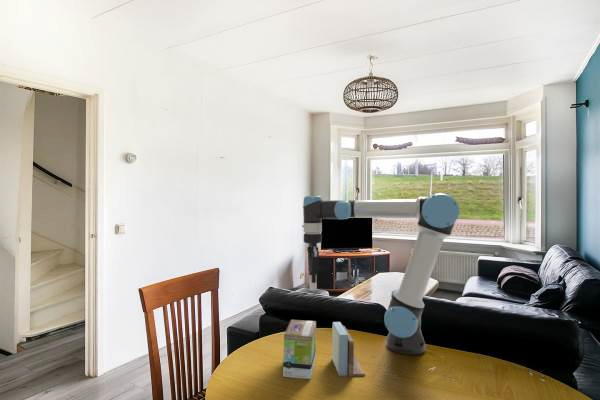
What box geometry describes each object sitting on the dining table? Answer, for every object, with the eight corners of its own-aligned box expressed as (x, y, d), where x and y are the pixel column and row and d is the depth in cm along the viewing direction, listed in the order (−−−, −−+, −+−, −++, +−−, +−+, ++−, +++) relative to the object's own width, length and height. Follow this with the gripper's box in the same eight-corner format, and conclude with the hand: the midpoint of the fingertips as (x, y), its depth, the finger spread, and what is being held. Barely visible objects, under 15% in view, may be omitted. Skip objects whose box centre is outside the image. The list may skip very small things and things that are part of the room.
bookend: (354, 356, 130) (354, 325, 130) (364, 375, 116) (365, 340, 116) (340, 357, 130) (340, 325, 130) (349, 376, 116) (349, 341, 116)
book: (339, 358, 129) (340, 321, 129) (347, 375, 117) (347, 334, 117) (331, 359, 129) (332, 322, 128) (338, 375, 117) (339, 334, 116)
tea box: (311, 380, 114) (312, 335, 113) (282, 377, 115) (282, 334, 115) (316, 359, 128) (316, 320, 128) (289, 357, 130) (290, 318, 130)
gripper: (301, 231, 147) (301, 286, 147) (306, 234, 134) (306, 294, 134) (318, 231, 148) (318, 285, 148) (324, 234, 135) (325, 293, 135)
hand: (313, 289), depth 141 cm, fingers closed
